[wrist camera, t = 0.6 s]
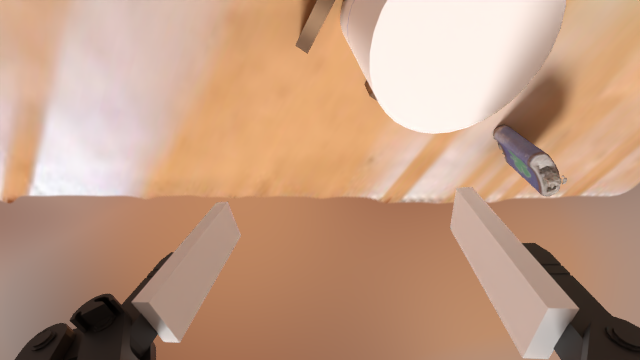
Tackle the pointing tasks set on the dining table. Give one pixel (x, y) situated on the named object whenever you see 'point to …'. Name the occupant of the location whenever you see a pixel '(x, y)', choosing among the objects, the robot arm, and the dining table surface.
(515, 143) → the flask
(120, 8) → the dining table surface
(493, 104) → the cylindrical container
